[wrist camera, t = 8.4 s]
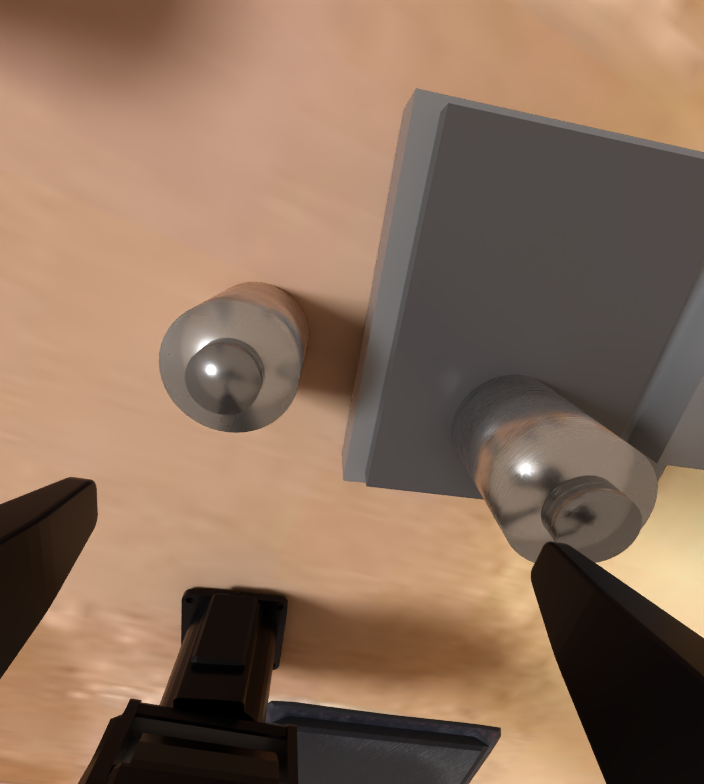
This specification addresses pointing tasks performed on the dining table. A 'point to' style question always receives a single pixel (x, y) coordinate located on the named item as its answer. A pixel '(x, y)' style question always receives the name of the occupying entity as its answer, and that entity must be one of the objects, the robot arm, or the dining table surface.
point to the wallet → (382, 746)
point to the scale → (529, 288)
